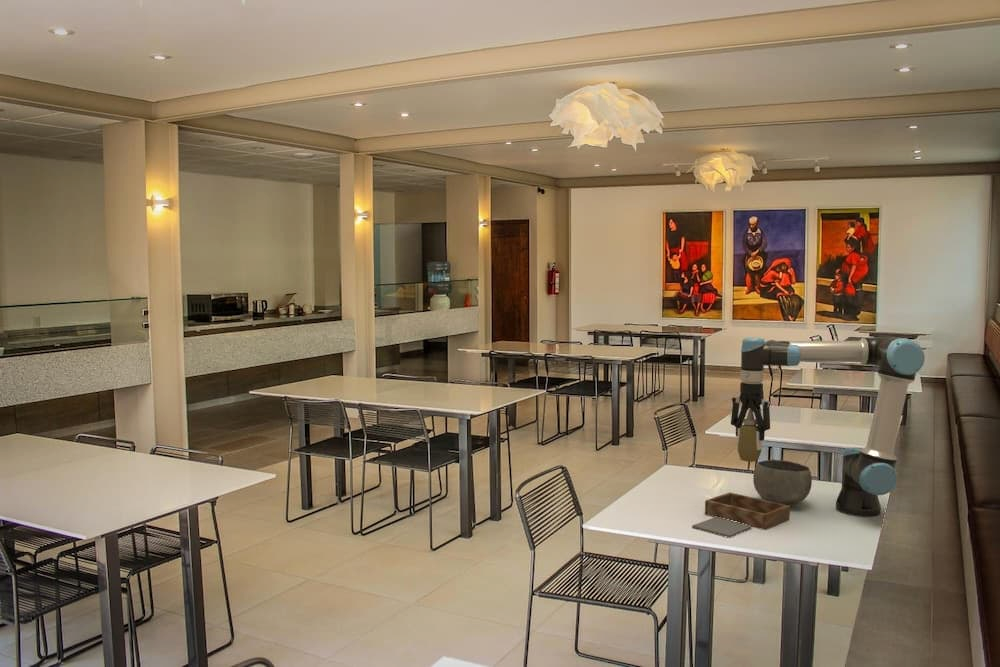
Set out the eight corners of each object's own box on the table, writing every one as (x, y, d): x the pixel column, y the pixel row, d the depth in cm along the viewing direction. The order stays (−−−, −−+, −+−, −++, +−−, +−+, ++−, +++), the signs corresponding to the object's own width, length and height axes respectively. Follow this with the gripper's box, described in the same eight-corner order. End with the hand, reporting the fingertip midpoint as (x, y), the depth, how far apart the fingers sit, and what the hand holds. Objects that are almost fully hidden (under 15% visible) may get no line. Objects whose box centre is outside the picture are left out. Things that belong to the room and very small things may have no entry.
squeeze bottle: (745, 463, 285) (746, 411, 283) (732, 458, 292) (734, 407, 291) (765, 462, 287) (767, 410, 285) (752, 457, 294) (754, 407, 293)
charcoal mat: (751, 529, 278) (751, 526, 278) (729, 537, 268) (729, 535, 268) (714, 519, 288) (714, 517, 288) (692, 527, 278) (692, 525, 278)
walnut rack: (789, 520, 288) (789, 505, 288) (765, 529, 277) (766, 515, 277) (729, 505, 305) (729, 492, 305) (704, 514, 294) (705, 500, 293)
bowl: (800, 515, 294) (802, 474, 293) (744, 505, 306) (745, 465, 305) (817, 503, 310) (819, 463, 309) (763, 493, 323) (765, 455, 322)
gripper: (721, 380, 292) (719, 444, 294) (772, 386, 278) (769, 454, 280) (732, 378, 297) (730, 441, 299) (783, 384, 283) (780, 450, 285)
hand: (749, 447), depth 289 cm, fingers closed on squeeze bottle, 6 cm apart
